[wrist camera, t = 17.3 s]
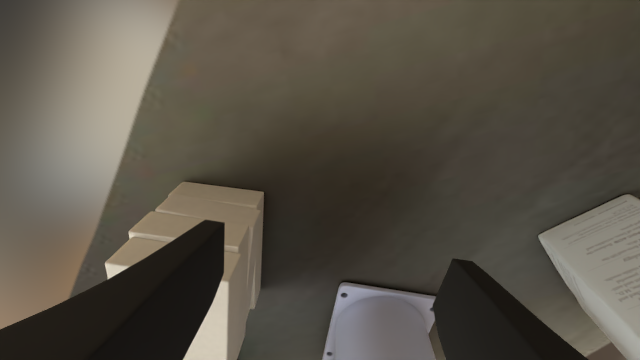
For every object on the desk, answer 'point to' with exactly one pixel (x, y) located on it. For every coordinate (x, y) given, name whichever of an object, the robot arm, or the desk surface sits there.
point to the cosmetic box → (603, 267)
